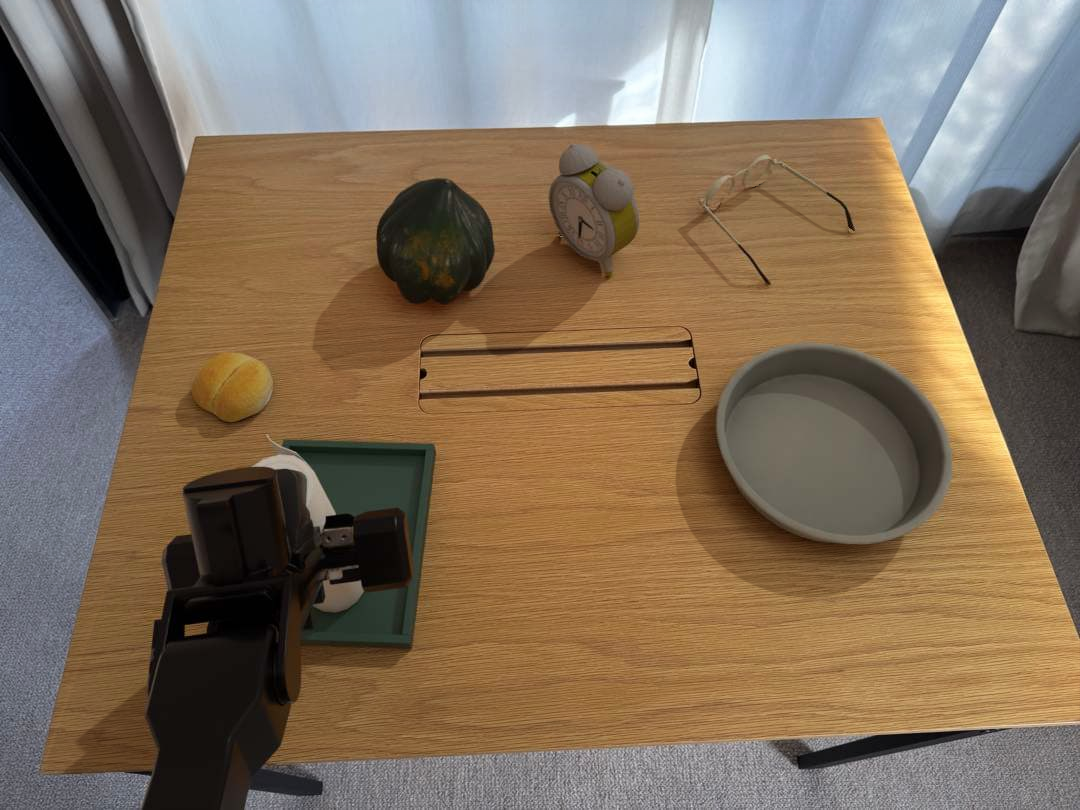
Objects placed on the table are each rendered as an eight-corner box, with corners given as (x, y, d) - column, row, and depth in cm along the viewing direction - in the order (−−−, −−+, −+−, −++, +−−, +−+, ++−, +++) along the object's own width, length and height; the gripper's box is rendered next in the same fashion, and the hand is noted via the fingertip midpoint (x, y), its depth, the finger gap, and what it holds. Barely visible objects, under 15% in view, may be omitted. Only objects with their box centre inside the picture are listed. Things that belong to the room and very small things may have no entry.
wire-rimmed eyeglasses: (776, 170, 110) (786, 141, 106) (857, 232, 103) (871, 204, 99) (687, 219, 105) (693, 191, 100) (766, 289, 98) (776, 262, 94)
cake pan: (965, 557, 79) (986, 540, 75) (725, 561, 79) (735, 545, 75) (901, 362, 92) (916, 339, 88) (696, 365, 92) (702, 342, 88)
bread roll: (244, 434, 87) (232, 416, 83) (185, 401, 89) (171, 382, 86) (291, 382, 91) (282, 362, 87) (234, 351, 93) (222, 331, 90)
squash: (344, 286, 91) (414, 217, 82) (368, 202, 100) (434, 130, 90) (441, 341, 99) (516, 284, 89) (455, 258, 107) (525, 197, 98)
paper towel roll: (352, 621, 75) (294, 532, 57) (295, 604, 76) (220, 511, 58) (381, 554, 79) (334, 451, 61) (326, 539, 80) (265, 432, 62)
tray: (412, 648, 74) (408, 643, 72) (241, 642, 74) (234, 637, 73) (436, 452, 86) (434, 443, 84) (288, 448, 86) (283, 439, 84)
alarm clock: (546, 237, 103) (546, 146, 90) (583, 213, 105) (588, 121, 93) (606, 287, 98) (615, 198, 85) (643, 261, 101) (658, 171, 88)
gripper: (385, 479, 53) (403, 426, 68) (107, 514, 52) (189, 452, 67) (407, 625, 56) (420, 542, 71) (143, 662, 54) (213, 569, 69)
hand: (312, 524), depth 69 cm, fingers closed on paper towel roll, 3 cm apart
